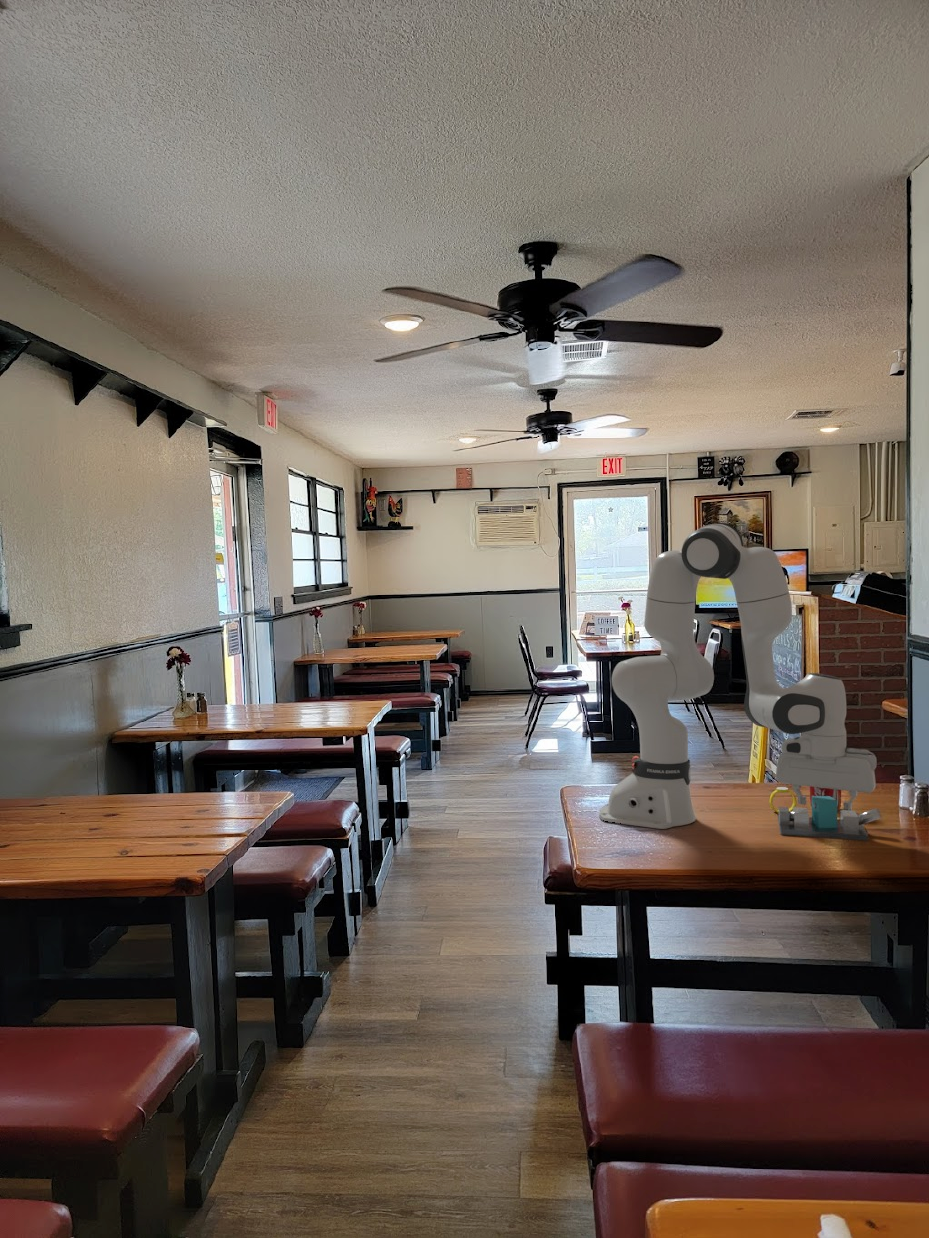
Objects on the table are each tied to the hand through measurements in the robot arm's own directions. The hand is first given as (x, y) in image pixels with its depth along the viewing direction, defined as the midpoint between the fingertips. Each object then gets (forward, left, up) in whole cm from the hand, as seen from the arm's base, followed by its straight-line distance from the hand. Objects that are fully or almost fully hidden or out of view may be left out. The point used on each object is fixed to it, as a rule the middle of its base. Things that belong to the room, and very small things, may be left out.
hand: (824, 807), depth 179 cm
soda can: (+2, +18, -6) cm, 19 cm away
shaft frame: (0, 0, -5) cm, 5 cm away
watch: (-8, +13, -6) cm, 16 cm away
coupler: (0, 0, -4) cm, 4 cm away
